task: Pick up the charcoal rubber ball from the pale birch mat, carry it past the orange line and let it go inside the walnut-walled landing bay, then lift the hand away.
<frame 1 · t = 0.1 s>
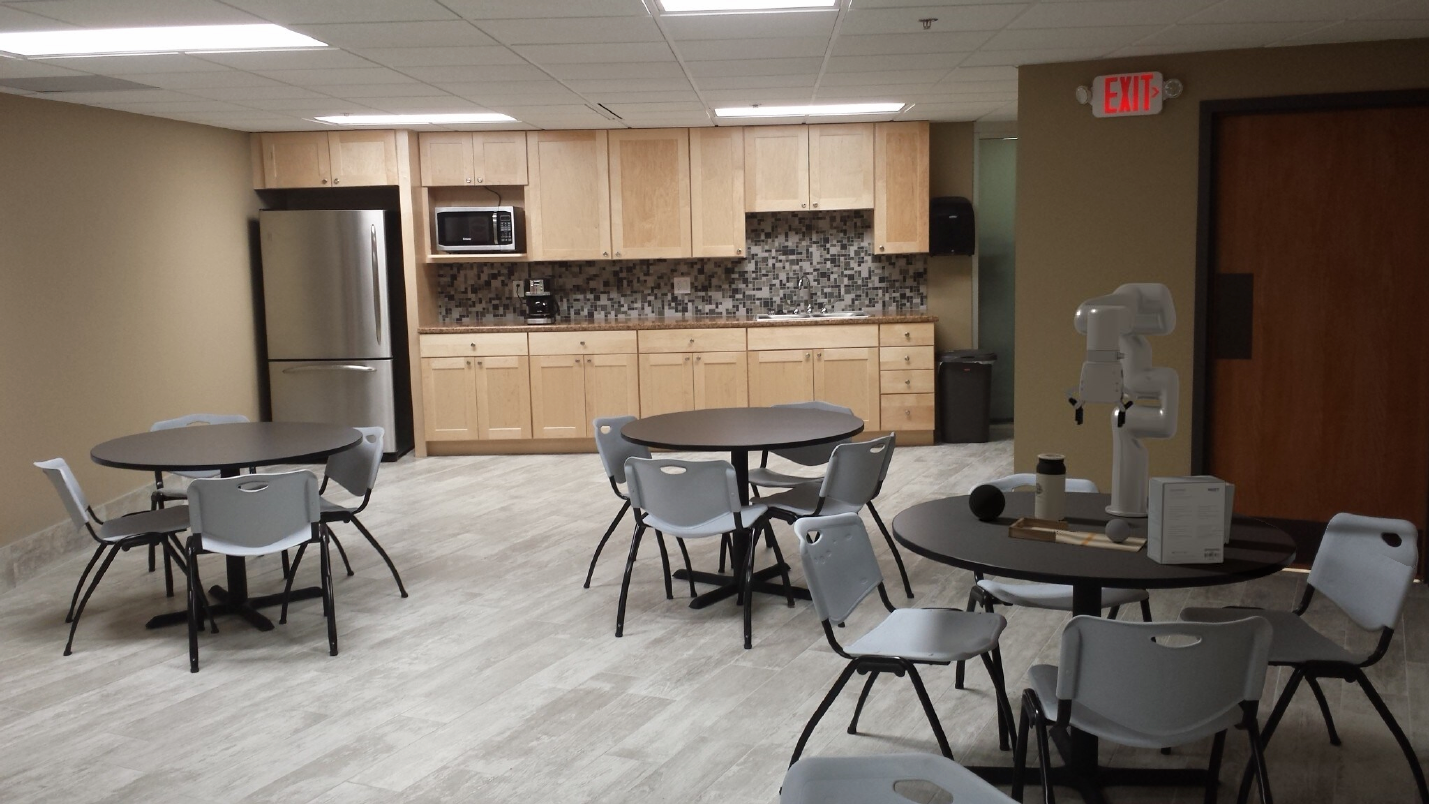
hand: (1099, 425, 267), 31 cm above the table, tool pointing down, fingers open, 9 cm apart
rubber ball: (1117, 530, 275), point 3 cm above the table, touching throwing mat
travel mug: (1049, 519, 303), on the table
decorative ball: (986, 520, 302), on the table
skincare box: (1209, 541, 277), on the table
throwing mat: (1077, 538, 280), on the table
hard drive box: (1184, 560, 259), on the table
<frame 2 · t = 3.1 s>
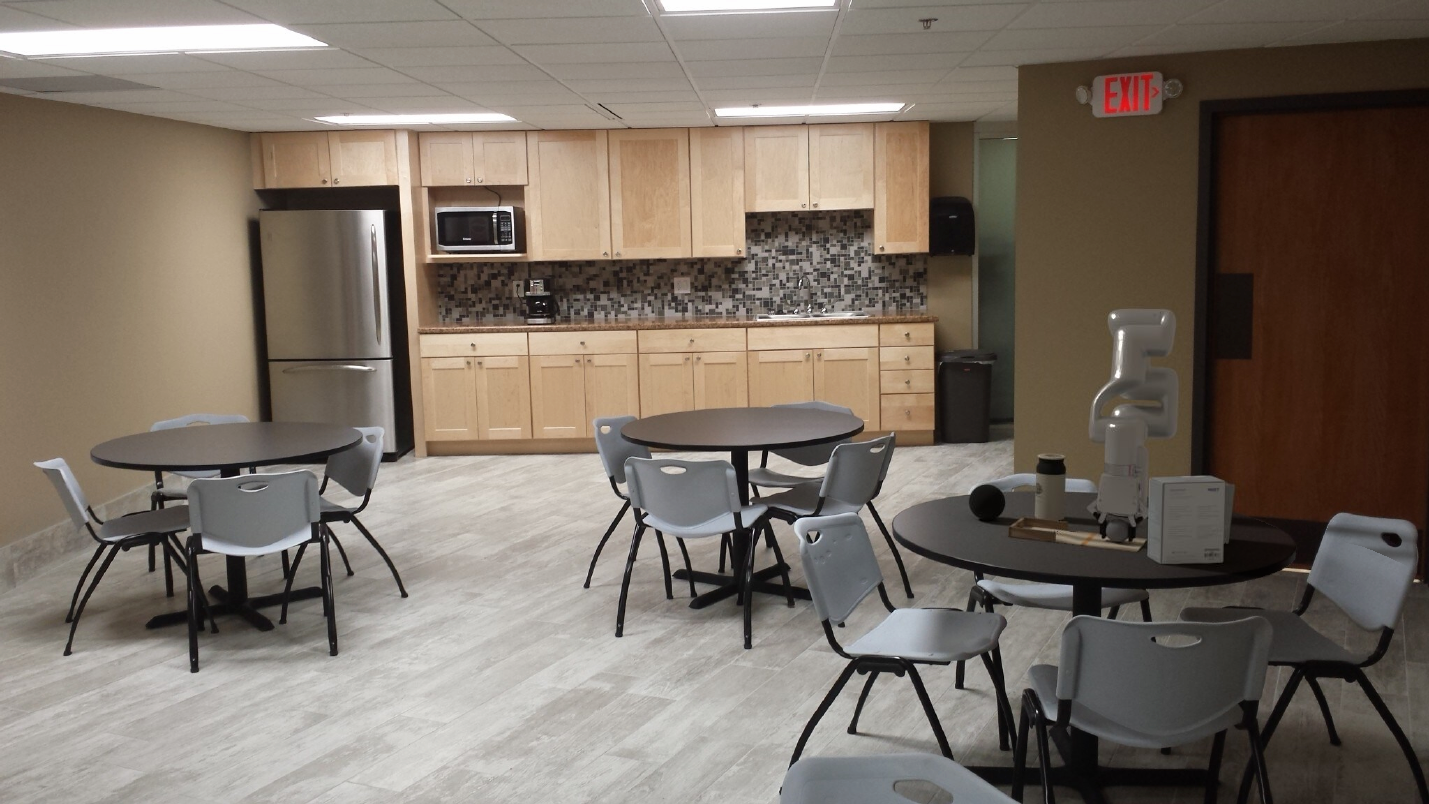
hand: (1117, 538, 275), 1 cm above the table, tool pointing down, fingers closed on rubber ball, 5 cm apart
rubber ball: (1117, 530, 274), point 3 cm above the table, touching gripper, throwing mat
everything else where it was.
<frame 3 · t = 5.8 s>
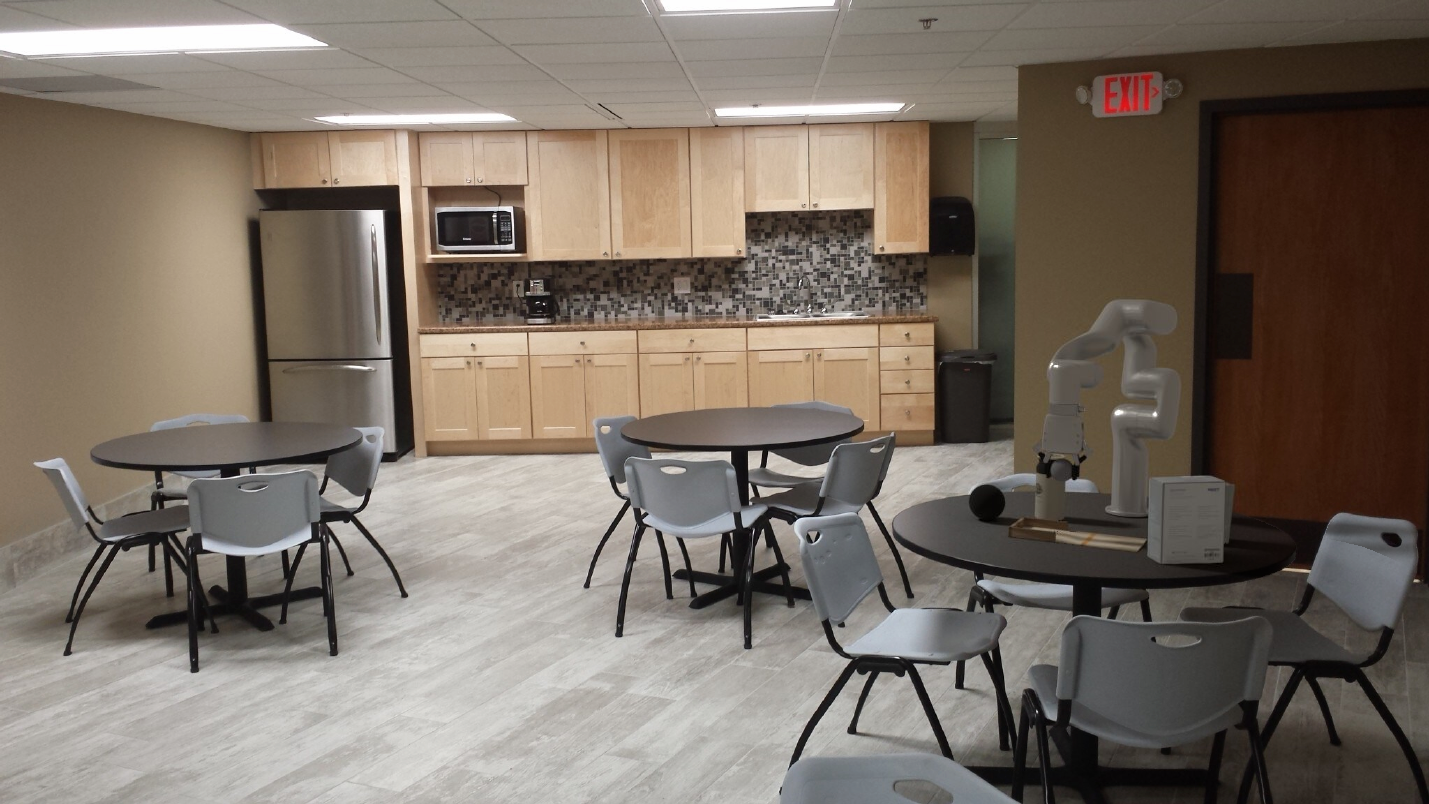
hand: (1061, 477, 280), 16 cm above the table, tool pointing down, fingers closed on rubber ball, 5 cm apart
rubber ball: (1062, 470, 280), point 18 cm above the table, touching gripper
everything else where it was.
when the fingers open (3 cm above the table, at t = 8.7 s): rubber ball drops 1 cm, resting on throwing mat.
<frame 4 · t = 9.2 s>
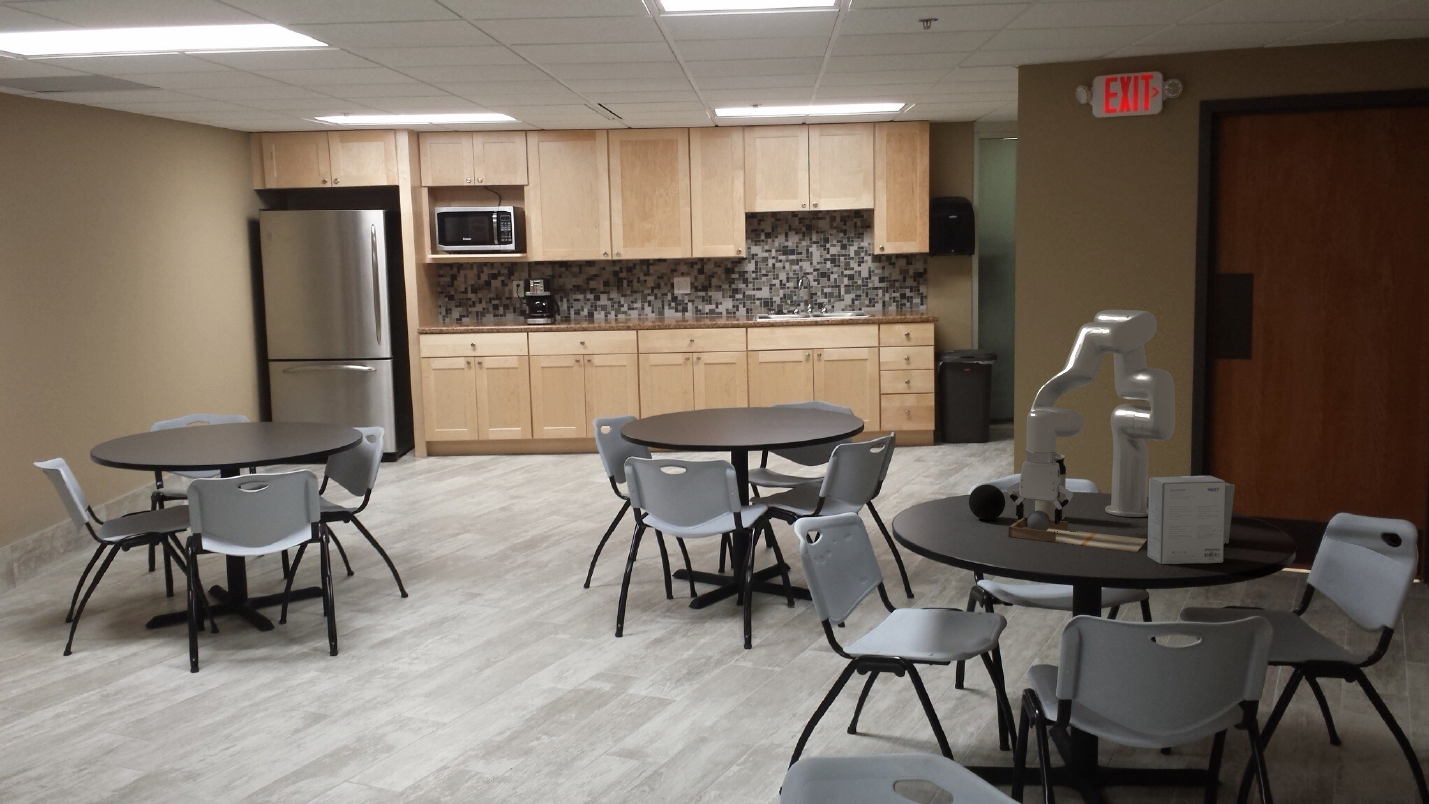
hand: (1038, 521, 285), 3 cm above the table, tool pointing down, fingers open, 9 cm apart
rubber ball: (1038, 521, 285), point 3 cm above the table, touching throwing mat
everything else where it was.
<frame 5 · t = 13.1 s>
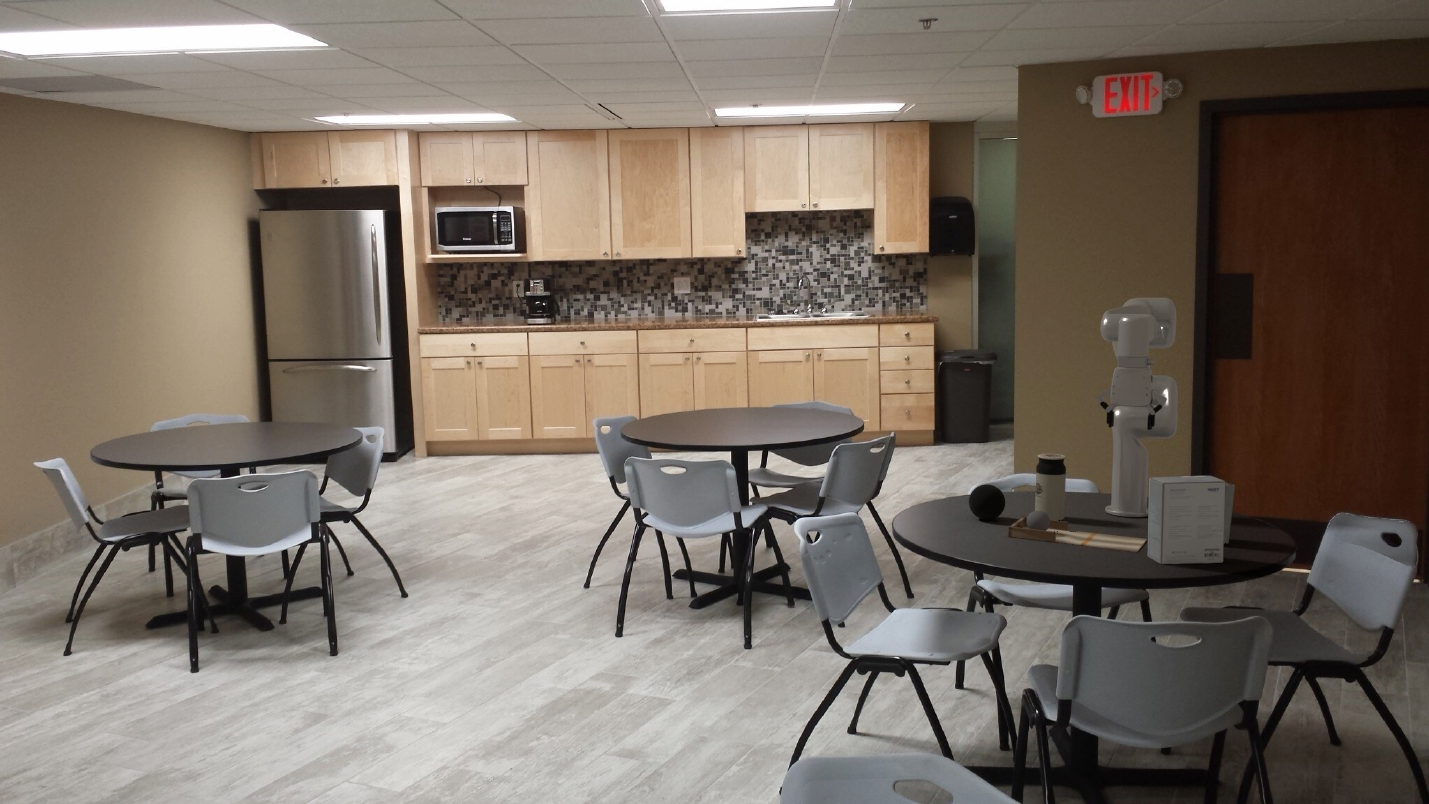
hand: (1130, 428, 282), 28 cm above the table, tool pointing down, fingers open, 9 cm apart
nothing on the table moved.
at the end: rubber ball inside the target area (1.1 cm from its centre), point 3.3 cm above the table; the gripper is holding nothing; rubber ball moved 20.1 cm from its start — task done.
